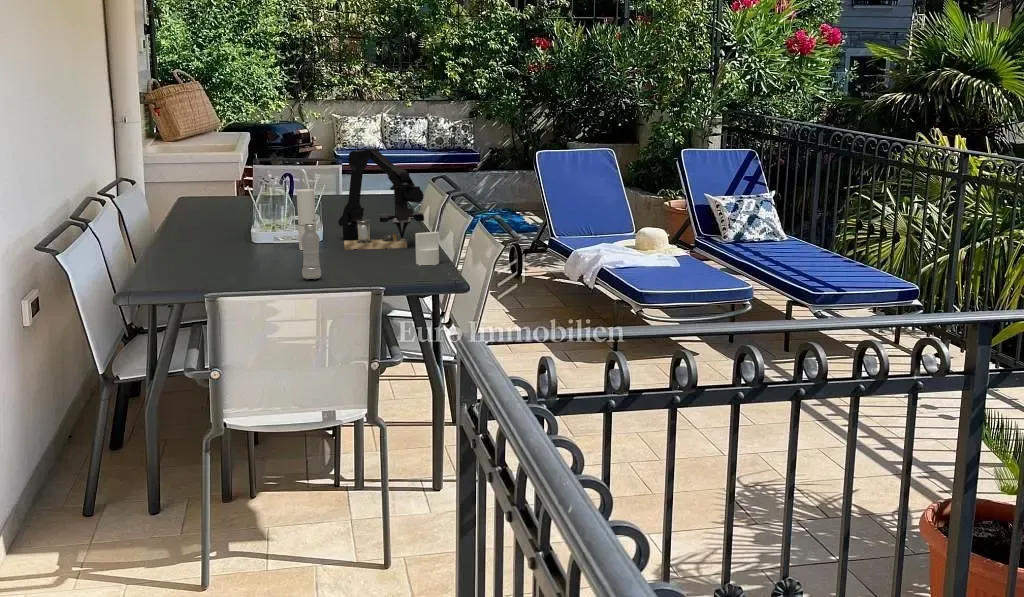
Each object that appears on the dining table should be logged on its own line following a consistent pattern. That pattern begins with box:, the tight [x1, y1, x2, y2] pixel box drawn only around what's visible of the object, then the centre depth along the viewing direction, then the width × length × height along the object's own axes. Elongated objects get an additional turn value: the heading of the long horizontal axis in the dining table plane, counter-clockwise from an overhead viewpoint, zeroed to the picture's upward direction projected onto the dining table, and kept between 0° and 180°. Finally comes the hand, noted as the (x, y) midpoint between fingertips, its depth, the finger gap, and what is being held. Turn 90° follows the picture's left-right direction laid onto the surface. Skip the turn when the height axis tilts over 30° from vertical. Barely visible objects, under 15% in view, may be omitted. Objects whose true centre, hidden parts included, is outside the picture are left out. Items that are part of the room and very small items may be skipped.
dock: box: [343, 232, 408, 251], centre depth 428 cm, size 26×8×6 cm, turn 101°
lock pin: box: [382, 233, 401, 241], centre depth 428 cm, size 7×2×2 cm, turn 101°
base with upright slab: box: [414, 231, 440, 266], centre depth 392 cm, size 9×9×12 cm
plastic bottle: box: [301, 224, 322, 280], centre depth 363 cm, size 6×7×20 cm
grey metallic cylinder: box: [357, 219, 371, 243], centre depth 426 cm, size 5×5×12 cm
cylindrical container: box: [296, 188, 317, 251], centre depth 419 cm, size 7×7×25 cm
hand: (401, 237), depth 429 cm, fingers closed
